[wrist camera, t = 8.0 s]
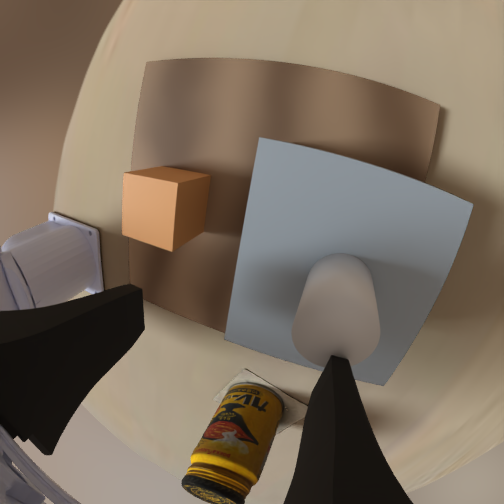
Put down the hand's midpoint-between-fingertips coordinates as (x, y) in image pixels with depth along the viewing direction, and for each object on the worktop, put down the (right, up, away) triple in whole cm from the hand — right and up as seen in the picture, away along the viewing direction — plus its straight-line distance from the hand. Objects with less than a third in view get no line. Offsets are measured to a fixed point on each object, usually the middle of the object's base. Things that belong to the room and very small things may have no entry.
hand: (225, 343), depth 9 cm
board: (+1, +6, +9) cm, 11 cm away
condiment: (+2, -12, +16) cm, 20 cm away
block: (-4, +7, +9) cm, 12 cm away
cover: (+6, +4, +7) cm, 10 cm away
